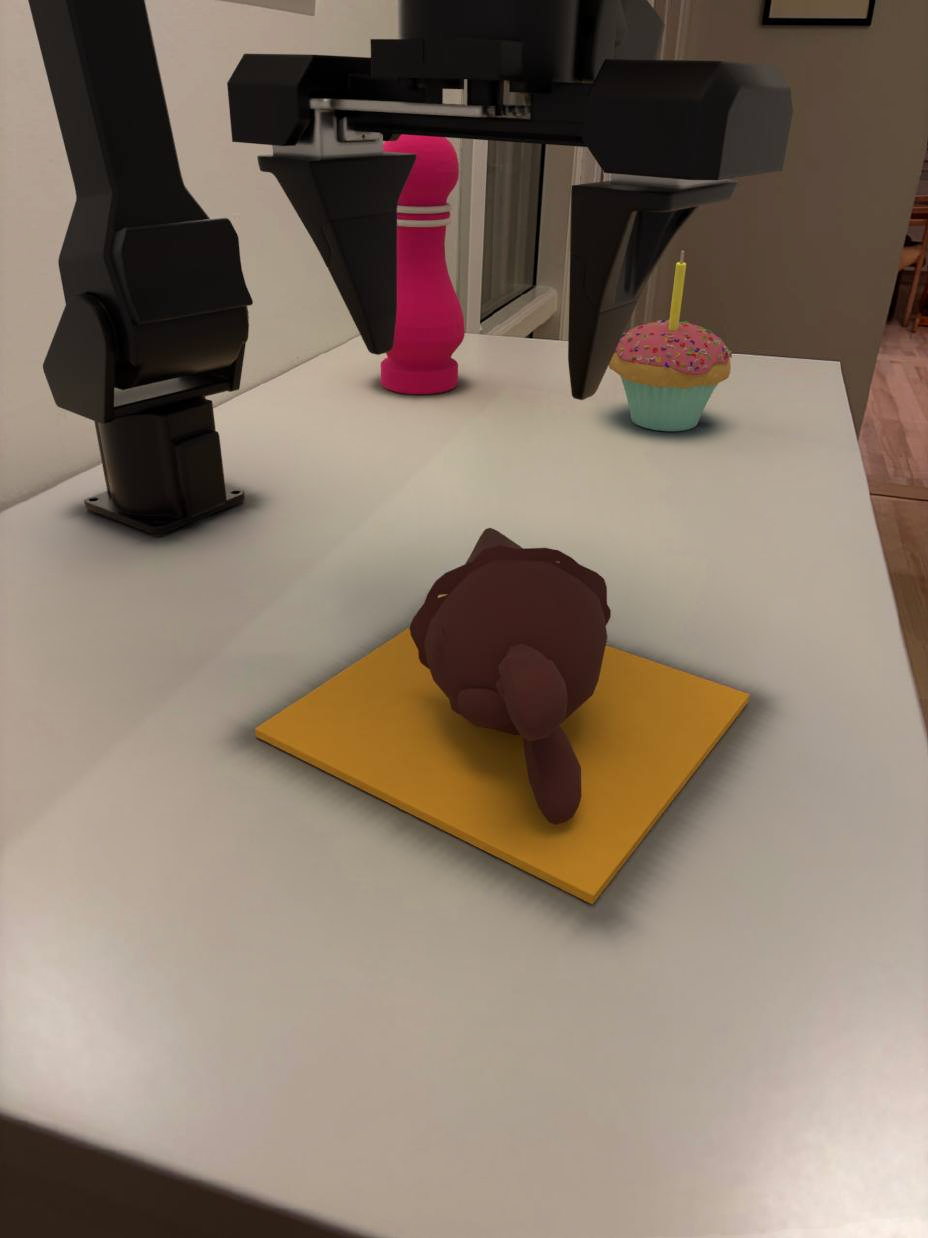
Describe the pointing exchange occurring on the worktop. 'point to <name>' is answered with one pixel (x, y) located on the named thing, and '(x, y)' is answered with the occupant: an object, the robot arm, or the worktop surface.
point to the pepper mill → (424, 274)
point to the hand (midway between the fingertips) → (476, 373)
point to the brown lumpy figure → (519, 652)
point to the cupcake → (670, 367)
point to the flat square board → (514, 757)
